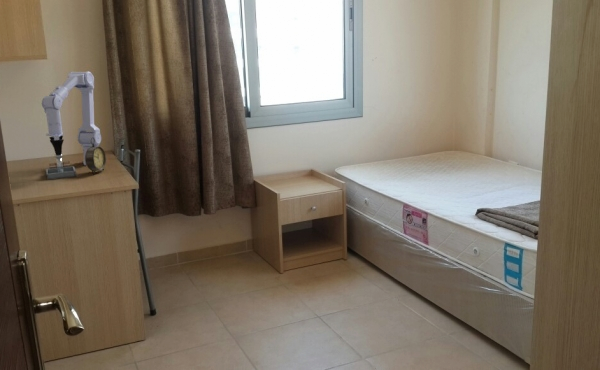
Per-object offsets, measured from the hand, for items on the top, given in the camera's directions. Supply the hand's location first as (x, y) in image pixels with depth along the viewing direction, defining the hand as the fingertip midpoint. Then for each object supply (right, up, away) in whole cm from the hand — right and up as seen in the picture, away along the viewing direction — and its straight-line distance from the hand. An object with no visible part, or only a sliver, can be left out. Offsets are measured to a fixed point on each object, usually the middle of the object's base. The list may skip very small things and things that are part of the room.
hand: (58, 153), depth 280 cm
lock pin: (0, -9, +3) cm, 9 cm away
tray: (0, -10, +2) cm, 10 cm away
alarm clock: (+15, -8, +6) cm, 18 cm away
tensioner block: (-4, -7, +13) cm, 15 cm away
